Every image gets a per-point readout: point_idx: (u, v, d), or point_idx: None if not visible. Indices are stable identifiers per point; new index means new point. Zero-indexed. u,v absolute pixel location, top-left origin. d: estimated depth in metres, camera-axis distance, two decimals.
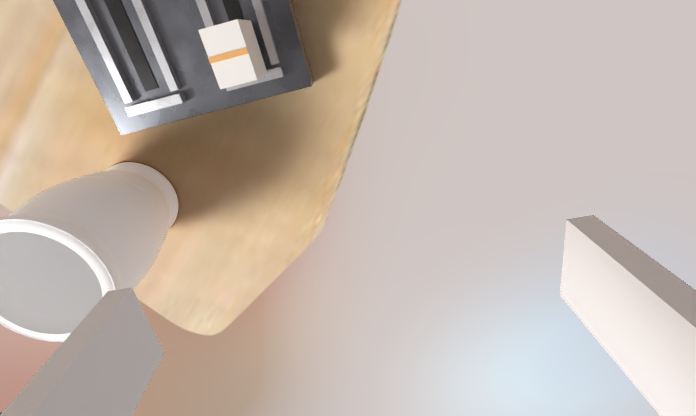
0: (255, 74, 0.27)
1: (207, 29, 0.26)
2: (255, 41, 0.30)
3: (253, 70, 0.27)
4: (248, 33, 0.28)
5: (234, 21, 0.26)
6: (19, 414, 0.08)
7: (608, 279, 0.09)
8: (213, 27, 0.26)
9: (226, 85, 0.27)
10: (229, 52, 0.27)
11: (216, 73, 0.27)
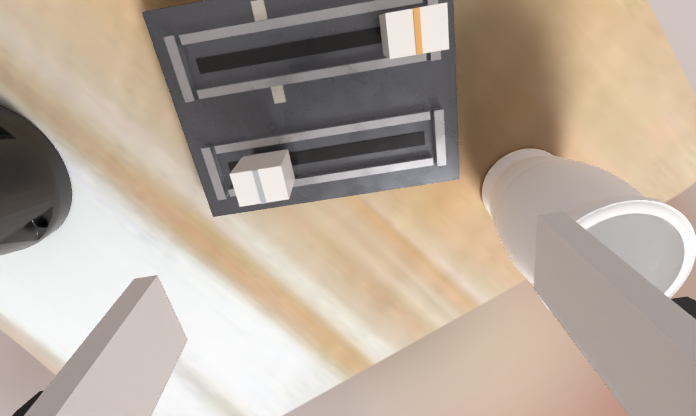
0: (441, 3, 0.25)
1: (390, 49, 0.26)
2: None
3: (436, 5, 0.25)
4: None
5: (386, 17, 0.25)
6: (62, 390, 0.08)
7: (573, 271, 0.10)
8: (389, 41, 0.25)
9: (446, 40, 0.25)
10: (415, 29, 0.25)
11: (432, 49, 0.26)
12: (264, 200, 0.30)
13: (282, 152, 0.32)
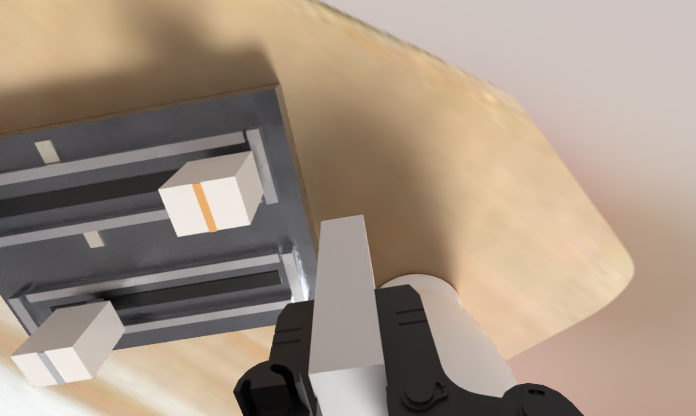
0: (228, 177, 0.19)
1: (175, 226, 0.20)
2: (208, 161, 0.23)
3: (222, 179, 0.19)
4: (189, 172, 0.21)
5: (161, 193, 0.19)
6: (333, 293, 0.10)
7: None
8: (172, 219, 0.20)
9: (244, 216, 0.20)
10: (201, 205, 0.20)
11: (229, 225, 0.20)
12: (61, 381, 0.25)
13: (98, 308, 0.27)
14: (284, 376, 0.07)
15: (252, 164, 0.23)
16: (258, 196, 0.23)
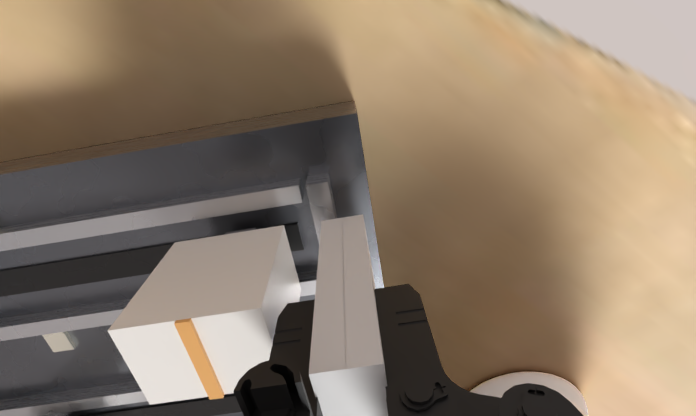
0: (247, 307, 0.10)
1: (145, 388, 0.11)
2: (209, 246, 0.13)
3: (236, 312, 0.10)
4: (174, 277, 0.12)
5: (114, 336, 0.10)
6: (333, 293, 0.10)
7: None
8: (138, 378, 0.10)
9: None
10: (194, 355, 0.10)
11: None
12: None
13: None
14: (284, 376, 0.07)
15: (285, 251, 0.13)
16: None
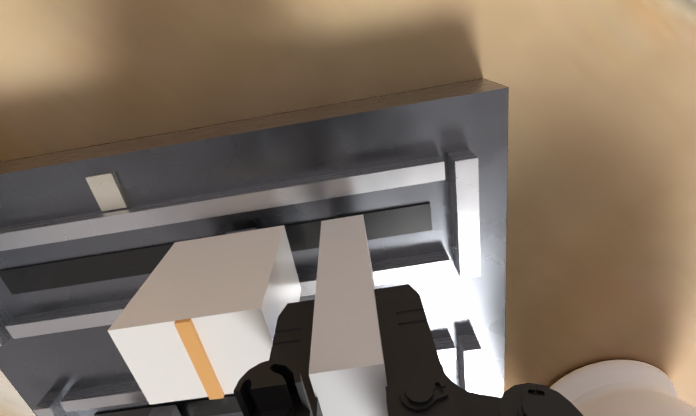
0: (247, 308, 0.10)
1: (145, 388, 0.11)
2: (209, 246, 0.13)
3: (236, 312, 0.10)
4: (174, 277, 0.12)
5: (114, 336, 0.10)
6: (333, 293, 0.10)
7: None
8: (137, 378, 0.10)
9: None
10: (194, 355, 0.10)
11: None
12: None
13: None
14: (284, 376, 0.07)
15: (285, 251, 0.13)
16: None
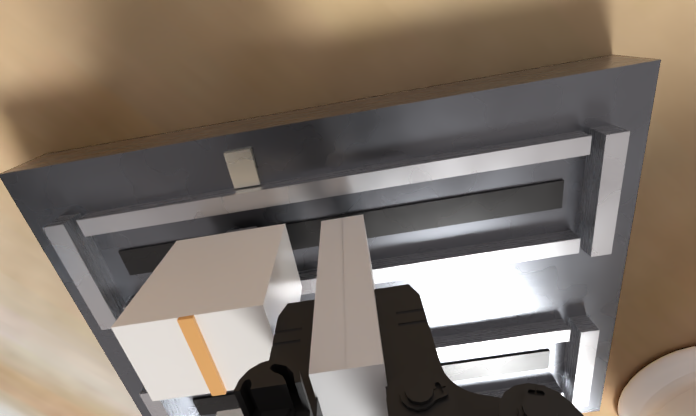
0: (249, 304, 0.10)
1: (148, 385, 0.11)
2: (211, 244, 0.13)
3: (238, 309, 0.10)
4: (176, 274, 0.12)
5: (118, 333, 0.10)
6: (333, 293, 0.10)
7: None
8: (141, 374, 0.11)
9: None
10: (197, 352, 0.10)
11: None
12: None
13: None
14: (284, 376, 0.07)
15: (286, 249, 0.13)
16: None
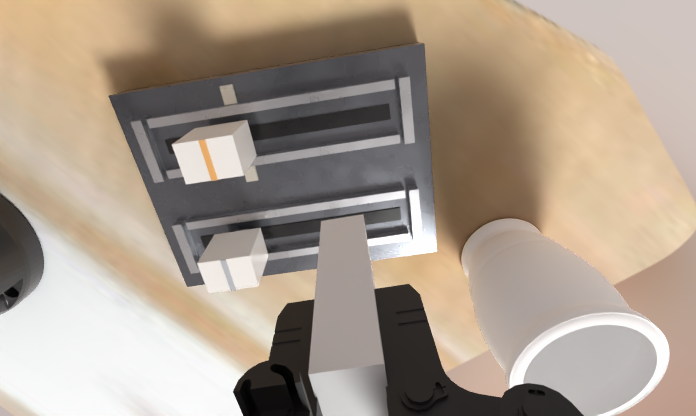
0: (227, 135, 0.25)
1: (184, 175, 0.26)
2: (211, 127, 0.28)
3: (222, 137, 0.24)
4: (196, 134, 0.26)
5: (174, 147, 0.25)
6: (333, 293, 0.10)
7: None
8: (182, 169, 0.25)
9: (239, 168, 0.25)
10: (205, 158, 0.25)
11: (227, 175, 0.26)
12: (233, 287, 0.29)
13: (254, 232, 0.32)
14: (284, 376, 0.07)
15: (247, 130, 0.28)
16: (251, 157, 0.28)
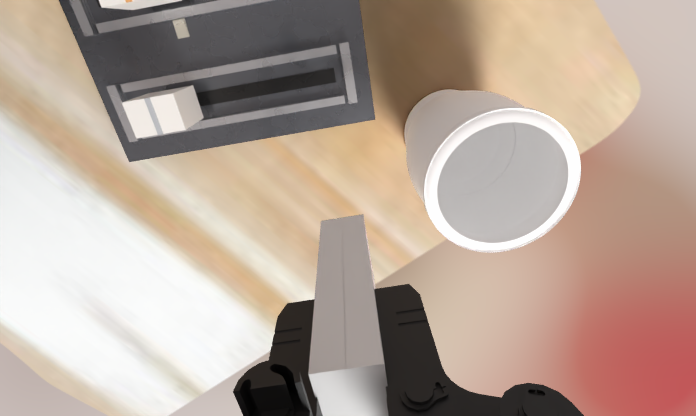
0: None
1: None
2: None
3: None
4: None
5: None
6: (333, 293, 0.10)
7: None
8: None
9: None
10: None
11: None
12: (160, 131, 0.30)
13: (185, 87, 0.32)
14: (284, 376, 0.07)
15: None
16: None
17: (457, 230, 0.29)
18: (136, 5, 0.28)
